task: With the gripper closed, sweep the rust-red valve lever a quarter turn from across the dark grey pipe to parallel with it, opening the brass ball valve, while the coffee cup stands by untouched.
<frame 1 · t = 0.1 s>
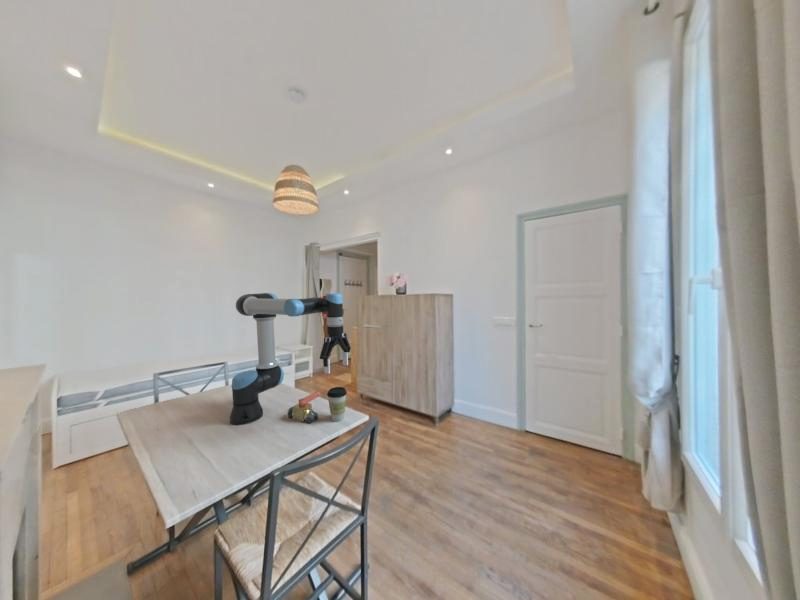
hand: (336, 368, 132), 28 cm above the table, fingers open, 13 cm apart
pipe run: (302, 418, 141), on the table
coffee cup: (337, 418, 140), on the table
lever: (309, 398, 145), point 9 cm above the table, hinge at 0.0°
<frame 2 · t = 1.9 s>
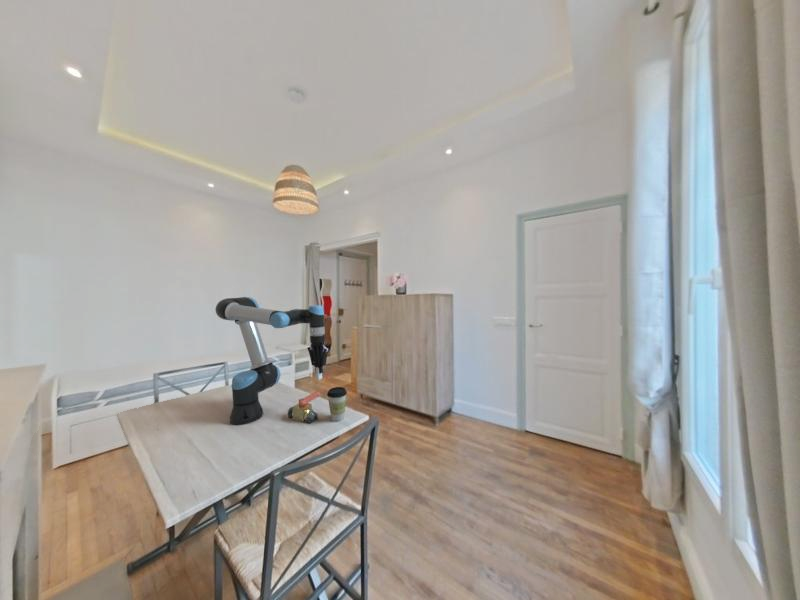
hand: (319, 378, 144), 19 cm above the table, fingers closed
nothing on the table moved.
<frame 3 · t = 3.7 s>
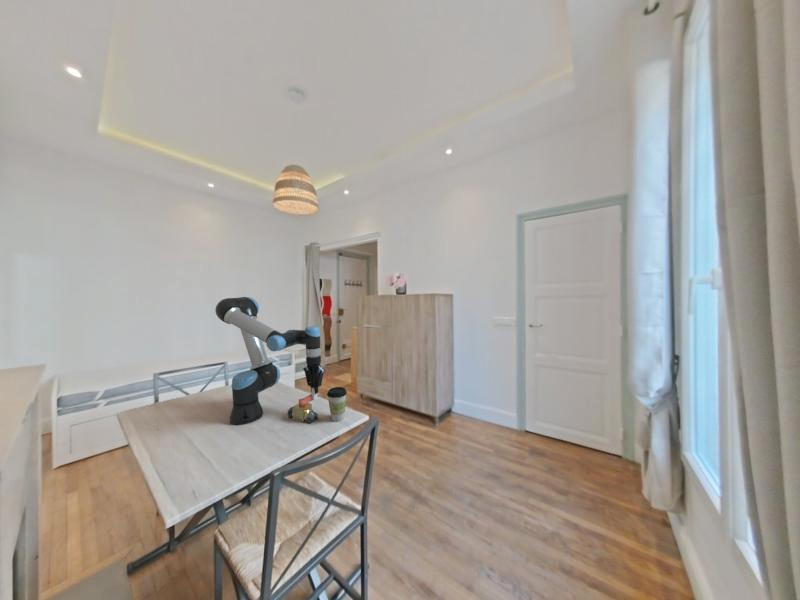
hand: (314, 398, 146), 8 cm above the table, fingers closed
lever: (309, 398, 145), point 9 cm above the table, hinge at 0.0°, touching gripper
everything else where it was.
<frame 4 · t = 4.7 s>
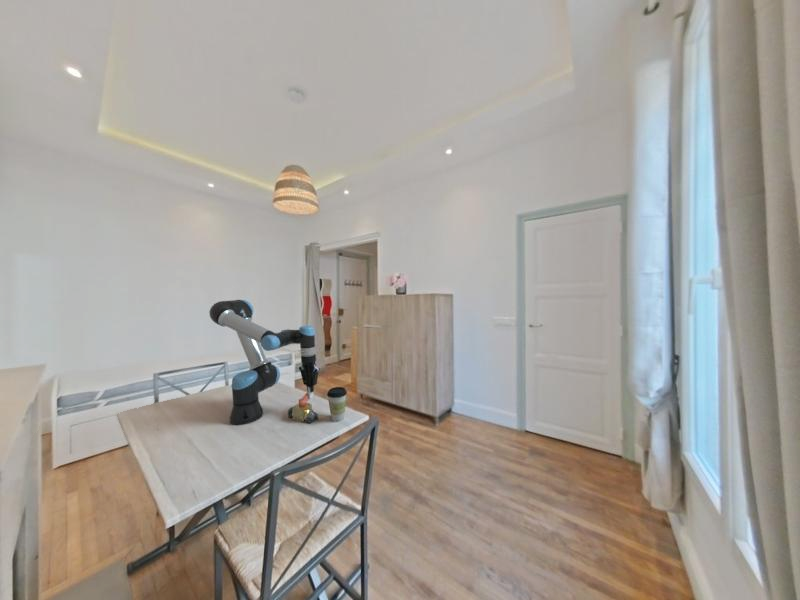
hand: (310, 397, 147), 8 cm above the table, fingers closed
lever: (306, 397, 145), point 9 cm above the table, hinge at 23.4°, touching gripper
everything else where it was.
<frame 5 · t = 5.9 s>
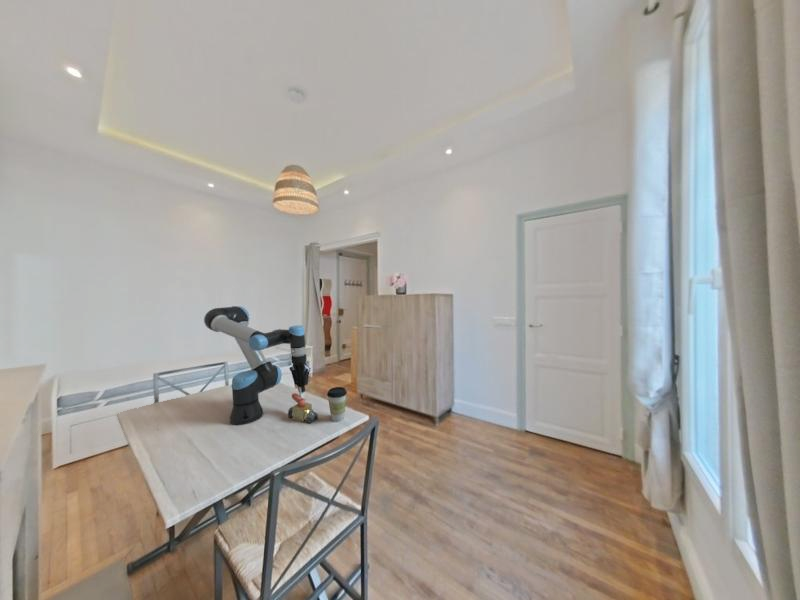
hand: (302, 397, 146), 8 cm above the table, fingers closed
lever: (298, 399, 144), point 9 cm above the table, hinge at 66.3°, touching gripper
everything else where it was.
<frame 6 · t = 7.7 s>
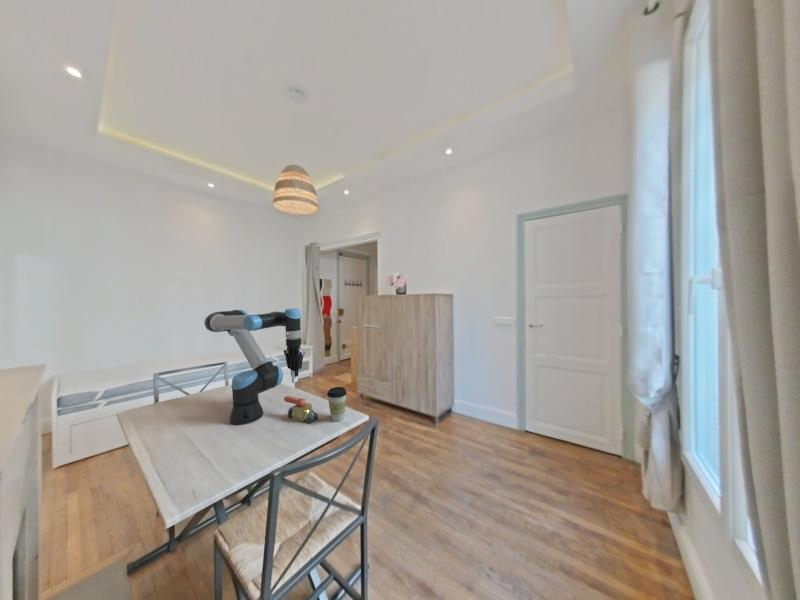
hand: (294, 381, 145), 18 cm above the table, fingers closed
lever: (294, 400, 142), point 9 cm above the table, hinge at 89.2°
everything else where it was.
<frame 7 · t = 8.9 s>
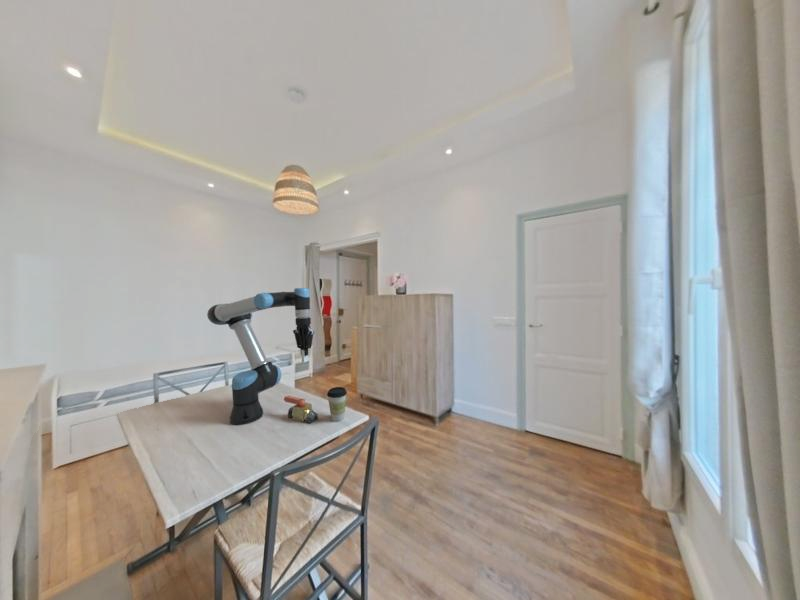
hand: (304, 361, 144), 28 cm above the table, fingers closed
nothing on the table moved.
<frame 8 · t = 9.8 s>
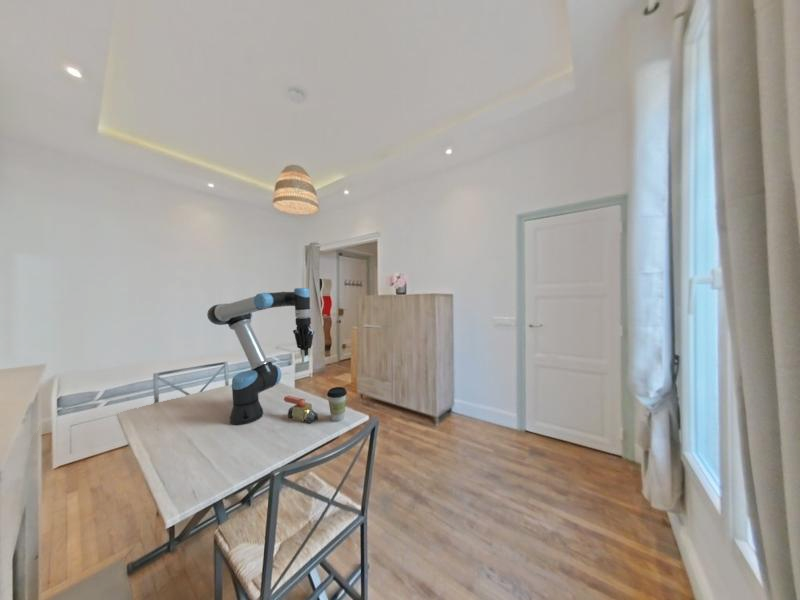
hand: (304, 361, 144), 28 cm above the table, fingers closed
nothing on the table moved.
at the end: lever at +89° (first picture: +0°); coffee cup moved 0.2 cm from its start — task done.
